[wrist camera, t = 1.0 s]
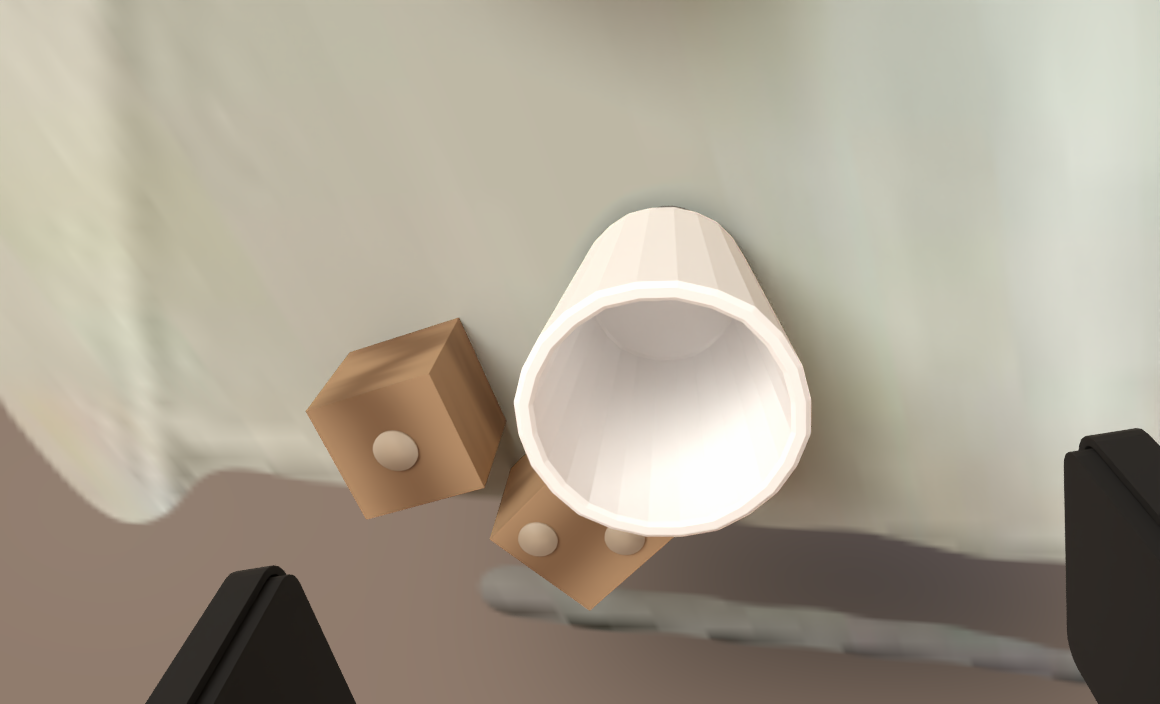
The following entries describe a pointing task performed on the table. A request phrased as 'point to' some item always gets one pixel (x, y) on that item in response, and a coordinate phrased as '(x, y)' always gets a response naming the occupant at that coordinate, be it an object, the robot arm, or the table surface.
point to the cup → (663, 383)
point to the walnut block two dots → (565, 540)
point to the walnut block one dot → (410, 420)
